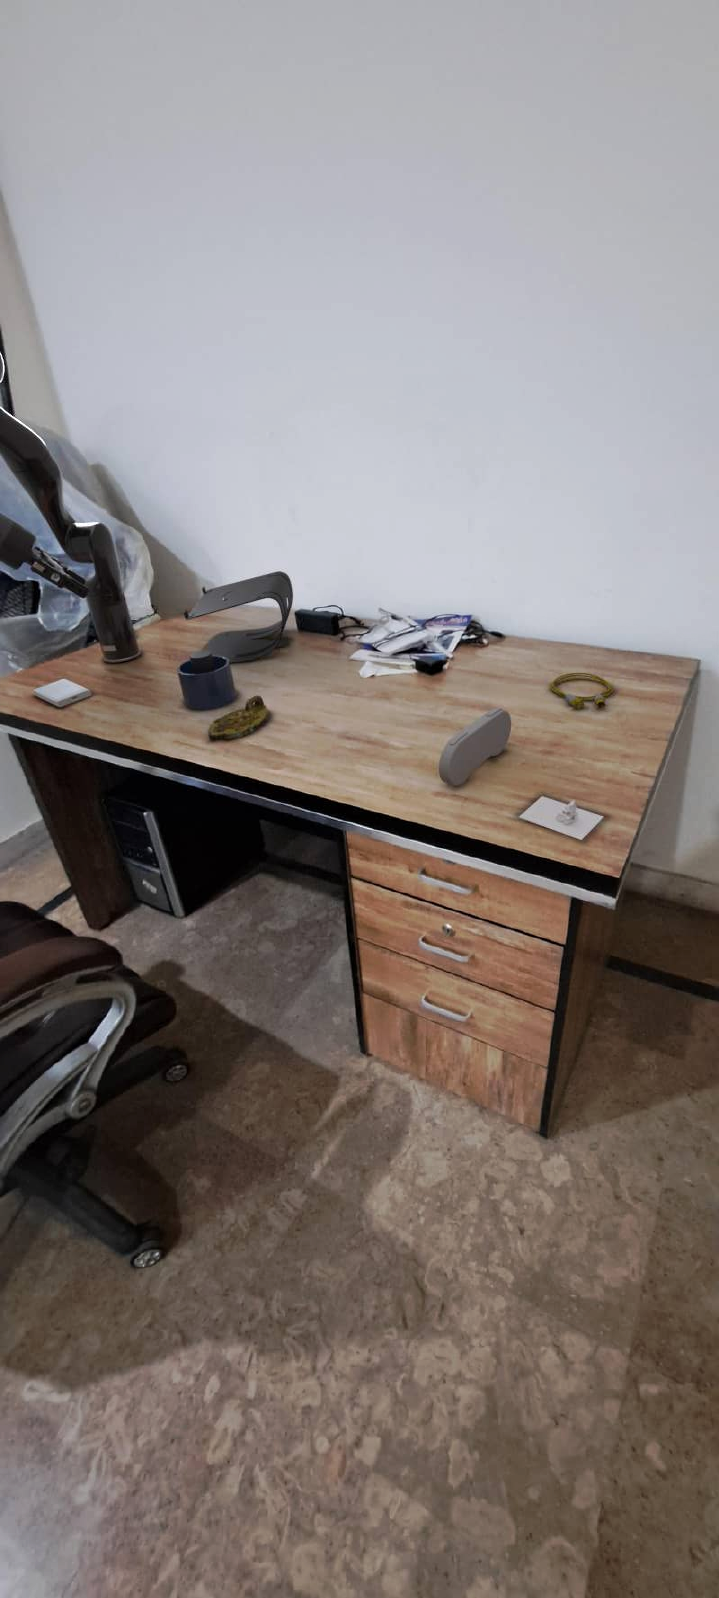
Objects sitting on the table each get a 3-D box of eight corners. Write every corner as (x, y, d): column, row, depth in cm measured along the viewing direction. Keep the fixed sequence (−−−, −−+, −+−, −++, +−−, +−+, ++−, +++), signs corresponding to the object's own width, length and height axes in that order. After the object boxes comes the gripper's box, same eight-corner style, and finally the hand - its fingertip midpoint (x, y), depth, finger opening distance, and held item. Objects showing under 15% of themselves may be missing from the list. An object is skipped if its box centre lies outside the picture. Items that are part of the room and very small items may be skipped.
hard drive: (32, 689, 158) (56, 701, 151) (65, 677, 163) (90, 688, 155) (34, 696, 159) (59, 708, 151) (67, 684, 164) (92, 695, 156)
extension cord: (538, 705, 132) (539, 695, 131) (560, 675, 143) (560, 666, 142) (602, 713, 127) (603, 704, 126) (619, 682, 138) (621, 672, 137)
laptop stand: (288, 659, 165) (279, 596, 157) (193, 667, 166) (179, 604, 158) (298, 626, 187) (290, 569, 178) (214, 632, 188) (202, 576, 180)
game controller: (499, 742, 121) (500, 699, 116) (510, 745, 119) (512, 702, 115) (437, 790, 109) (436, 745, 104) (449, 794, 107) (448, 748, 103)
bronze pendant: (229, 751, 129) (281, 719, 138) (226, 729, 126) (280, 698, 136) (195, 736, 133) (248, 706, 143) (192, 715, 130) (246, 686, 140)
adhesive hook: (570, 827, 97) (572, 809, 96) (553, 821, 99) (555, 803, 97) (580, 817, 99) (582, 800, 97) (563, 812, 101) (565, 794, 99)
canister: (197, 696, 149) (187, 653, 144) (217, 691, 150) (208, 648, 145) (202, 703, 145) (191, 659, 140) (222, 698, 147) (213, 654, 141)
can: (180, 696, 151) (172, 662, 147) (229, 684, 155) (222, 651, 150) (190, 714, 142) (182, 679, 138) (241, 701, 146) (235, 666, 141)
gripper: (11, 525, 116) (99, 580, 126) (11, 514, 127) (92, 566, 137) (-11, 562, 117) (78, 614, 127) (-8, 548, 128) (73, 597, 138)
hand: (85, 589), depth 132 cm, fingers open, 8 cm apart
